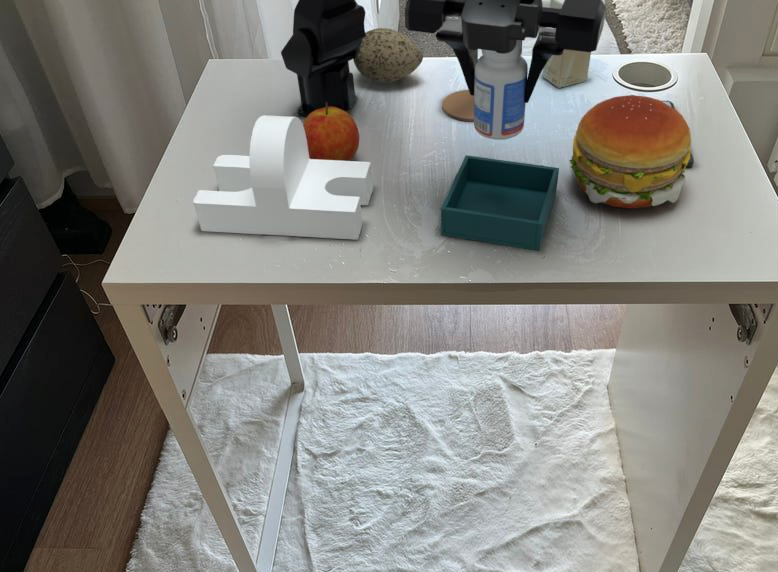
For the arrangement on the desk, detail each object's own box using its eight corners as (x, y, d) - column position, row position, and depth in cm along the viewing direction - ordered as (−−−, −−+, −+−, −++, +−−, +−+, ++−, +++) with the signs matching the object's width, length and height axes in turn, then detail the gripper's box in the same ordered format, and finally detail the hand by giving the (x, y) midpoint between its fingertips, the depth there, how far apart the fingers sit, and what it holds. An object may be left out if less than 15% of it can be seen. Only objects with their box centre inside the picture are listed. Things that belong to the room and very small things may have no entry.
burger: (613, 140, 97) (626, 64, 90) (706, 184, 91) (729, 106, 83) (544, 185, 91) (552, 108, 84) (638, 235, 84) (656, 156, 77)
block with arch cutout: (372, 189, 91) (365, 102, 83) (357, 240, 85) (348, 151, 77) (226, 181, 93) (205, 96, 85) (200, 230, 86) (174, 142, 78)
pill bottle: (524, 116, 85) (531, 27, 77) (522, 142, 81) (530, 52, 74) (474, 114, 85) (477, 26, 78) (471, 140, 81) (474, 50, 74)
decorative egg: (344, 28, 104) (415, 30, 102) (361, 25, 110) (429, 27, 108) (346, 84, 107) (415, 87, 105) (363, 78, 113) (428, 81, 111)
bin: (440, 235, 85) (440, 208, 82) (465, 180, 92) (465, 154, 90) (539, 250, 83) (542, 224, 80) (556, 193, 90) (559, 167, 87)
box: (558, 89, 107) (566, 8, 99) (541, 76, 110) (548, -4, 102) (589, 80, 109) (600, 0, 101) (571, 68, 112) (581, -11, 104)
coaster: (435, 117, 103) (435, 114, 102) (450, 89, 108) (450, 86, 108) (493, 125, 101) (494, 122, 101) (506, 96, 106) (506, 93, 106)
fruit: (352, 181, 92) (345, 121, 87) (297, 175, 94) (287, 115, 88) (368, 151, 97) (363, 91, 91) (315, 145, 98) (307, 86, 92)
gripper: (382, -42, 66) (390, 123, 77) (601, -20, 62) (576, 151, 73) (420, -85, 73) (422, 72, 84) (618, -67, 69) (592, 95, 81)
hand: (499, 97), depth 80 cm, fingers closed on pill bottle, 5 cm apart
